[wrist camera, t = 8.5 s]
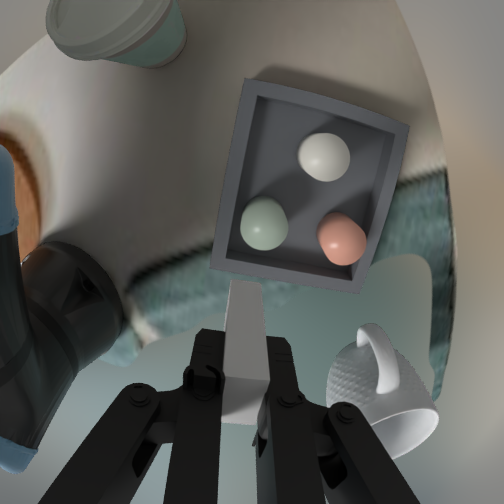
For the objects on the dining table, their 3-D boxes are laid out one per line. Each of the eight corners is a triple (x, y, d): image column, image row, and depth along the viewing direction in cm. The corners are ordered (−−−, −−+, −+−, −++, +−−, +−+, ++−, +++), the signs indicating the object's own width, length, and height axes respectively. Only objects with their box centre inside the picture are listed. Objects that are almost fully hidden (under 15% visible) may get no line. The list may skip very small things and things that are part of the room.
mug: (307, 309, 30) (332, 406, 18) (402, 285, 29) (462, 362, 17) (320, 395, 36) (336, 476, 24) (395, 374, 35) (428, 447, 23)
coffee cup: (167, -10, 18) (122, -74, 7) (221, 40, 21) (197, -23, 9) (100, 47, 20) (23, 16, 9) (146, 100, 23) (73, 83, 11)
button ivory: (292, 170, 24) (297, 175, 21) (301, 128, 22) (308, 127, 19) (332, 180, 24) (343, 186, 21) (342, 139, 22) (354, 140, 19)
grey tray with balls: (213, 254, 28) (209, 268, 25) (245, 84, 22) (244, 77, 19) (350, 279, 29) (359, 294, 26) (394, 125, 23) (409, 125, 20)
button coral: (311, 246, 26) (318, 261, 23) (322, 208, 25) (331, 218, 22) (347, 253, 26) (358, 268, 23) (359, 217, 25) (372, 228, 22)
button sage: (238, 232, 26) (236, 245, 23) (246, 192, 24) (245, 200, 21) (279, 240, 26) (282, 254, 23) (288, 200, 25) (293, 210, 22)
